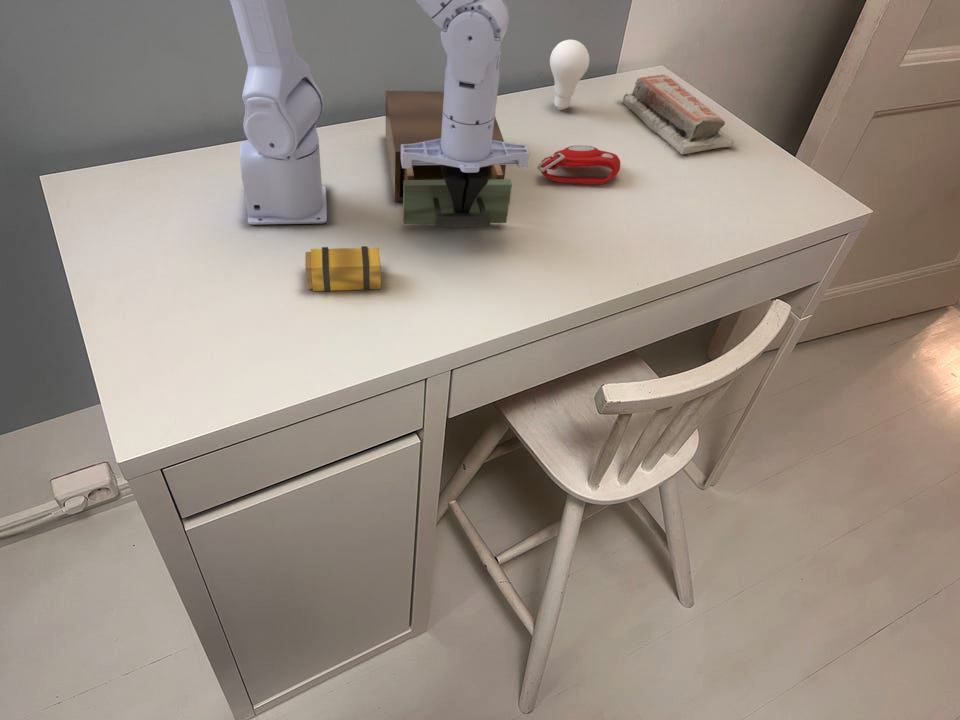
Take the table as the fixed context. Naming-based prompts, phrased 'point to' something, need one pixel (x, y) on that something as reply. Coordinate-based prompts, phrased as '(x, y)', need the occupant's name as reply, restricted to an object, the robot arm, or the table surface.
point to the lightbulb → (567, 69)
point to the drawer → (434, 202)
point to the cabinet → (415, 127)
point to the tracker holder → (580, 163)
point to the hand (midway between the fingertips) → (459, 216)
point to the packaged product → (676, 115)
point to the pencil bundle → (343, 269)
